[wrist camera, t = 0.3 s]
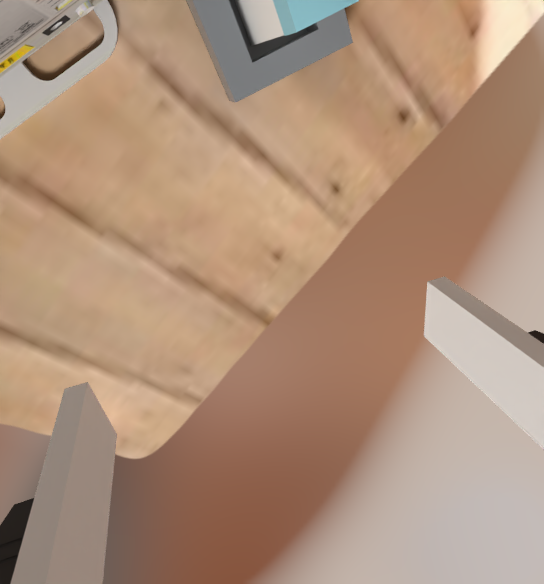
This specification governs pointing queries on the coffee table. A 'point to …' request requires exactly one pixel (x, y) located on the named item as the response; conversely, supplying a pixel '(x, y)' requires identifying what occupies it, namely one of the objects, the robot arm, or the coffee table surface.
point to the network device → (32, 36)
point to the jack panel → (262, 47)
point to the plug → (284, 16)
